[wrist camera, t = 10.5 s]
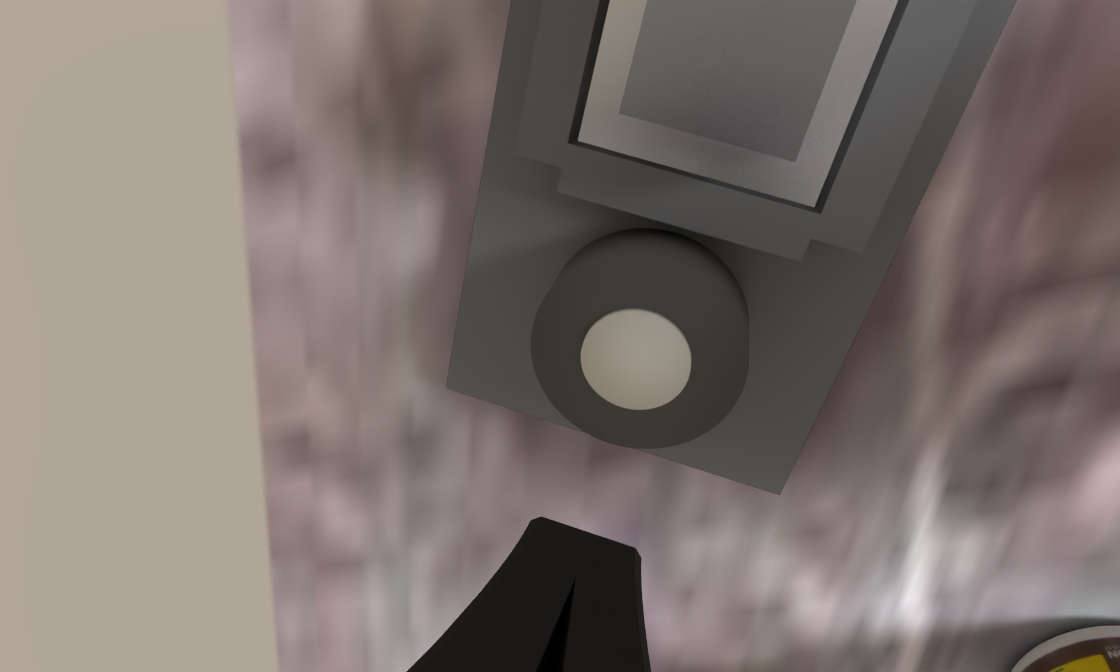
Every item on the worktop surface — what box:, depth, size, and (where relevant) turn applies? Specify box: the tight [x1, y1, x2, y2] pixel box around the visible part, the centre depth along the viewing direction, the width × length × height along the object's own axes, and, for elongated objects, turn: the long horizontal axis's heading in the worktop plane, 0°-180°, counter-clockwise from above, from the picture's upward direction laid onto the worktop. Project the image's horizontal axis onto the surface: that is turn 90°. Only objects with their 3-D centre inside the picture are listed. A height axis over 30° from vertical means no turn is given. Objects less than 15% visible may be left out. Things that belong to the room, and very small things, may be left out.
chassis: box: [446, 0, 1017, 495], centre depth 15 cm, size 9×15×2 cm, turn 168°
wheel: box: [531, 228, 749, 449], centre depth 15 cm, size 4×4×2 cm
